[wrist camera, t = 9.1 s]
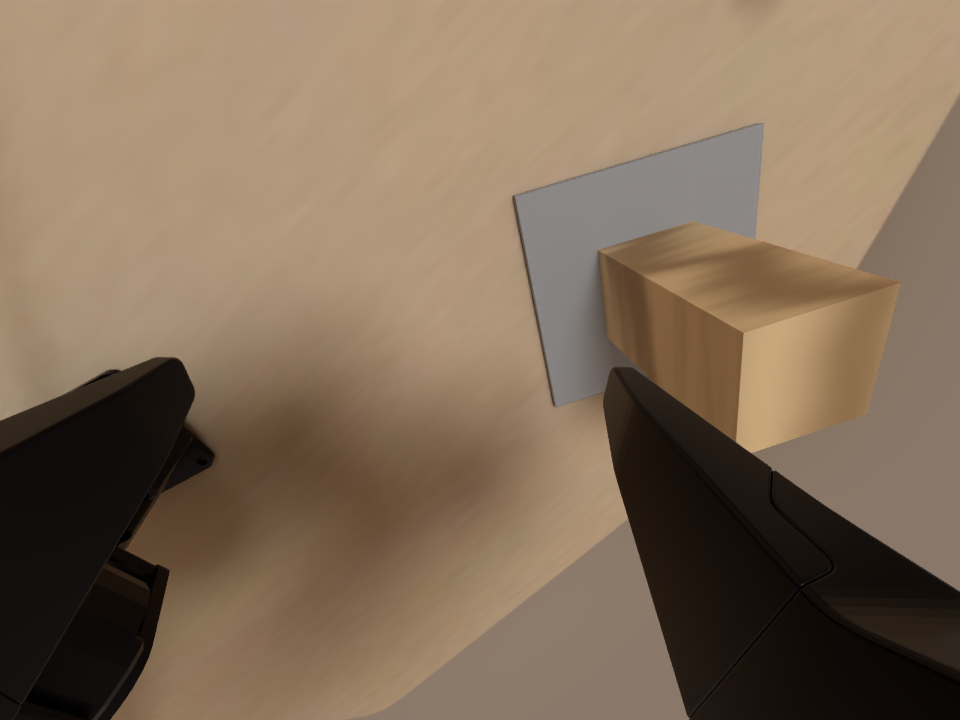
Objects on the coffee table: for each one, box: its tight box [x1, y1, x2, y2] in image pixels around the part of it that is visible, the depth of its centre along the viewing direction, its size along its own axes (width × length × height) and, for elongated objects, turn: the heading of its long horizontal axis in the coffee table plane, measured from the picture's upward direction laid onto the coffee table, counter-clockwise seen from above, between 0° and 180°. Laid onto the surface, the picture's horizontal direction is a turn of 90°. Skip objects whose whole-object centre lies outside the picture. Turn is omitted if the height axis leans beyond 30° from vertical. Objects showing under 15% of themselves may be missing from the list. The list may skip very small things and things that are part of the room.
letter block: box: [598, 221, 901, 453], centre depth 18 cm, size 5×5×10 cm
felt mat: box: [513, 123, 764, 407], centre depth 23 cm, size 12×12×1 cm
